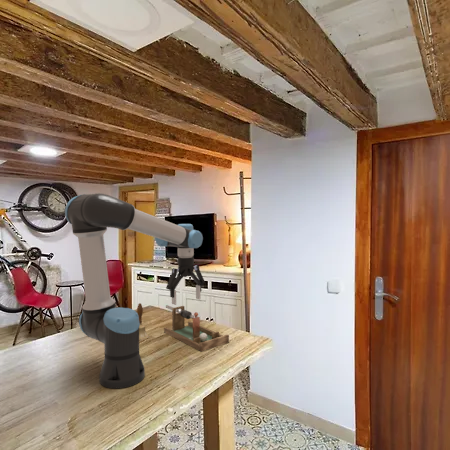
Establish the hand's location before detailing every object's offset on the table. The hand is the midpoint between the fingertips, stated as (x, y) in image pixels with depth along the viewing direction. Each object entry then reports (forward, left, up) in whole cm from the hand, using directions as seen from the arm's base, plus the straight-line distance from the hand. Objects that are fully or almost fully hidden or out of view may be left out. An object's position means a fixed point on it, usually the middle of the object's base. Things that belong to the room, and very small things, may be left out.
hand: (186, 301), depth 158 cm
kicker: (0, +4, -14) cm, 15 cm away
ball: (0, -14, -15) cm, 20 cm away
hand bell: (-18, +12, -16) cm, 27 cm away
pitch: (0, -7, -16) cm, 18 cm away
